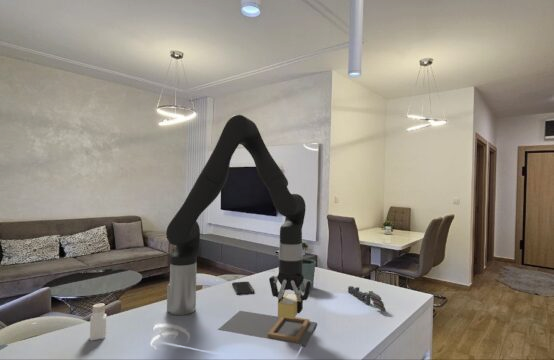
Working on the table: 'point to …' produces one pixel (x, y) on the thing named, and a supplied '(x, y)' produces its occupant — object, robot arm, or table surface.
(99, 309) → the pepper shaker
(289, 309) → the card box
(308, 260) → the green cup
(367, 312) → the table surface
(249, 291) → the phone
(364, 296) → the block letters
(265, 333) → the mat
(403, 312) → the table surface
